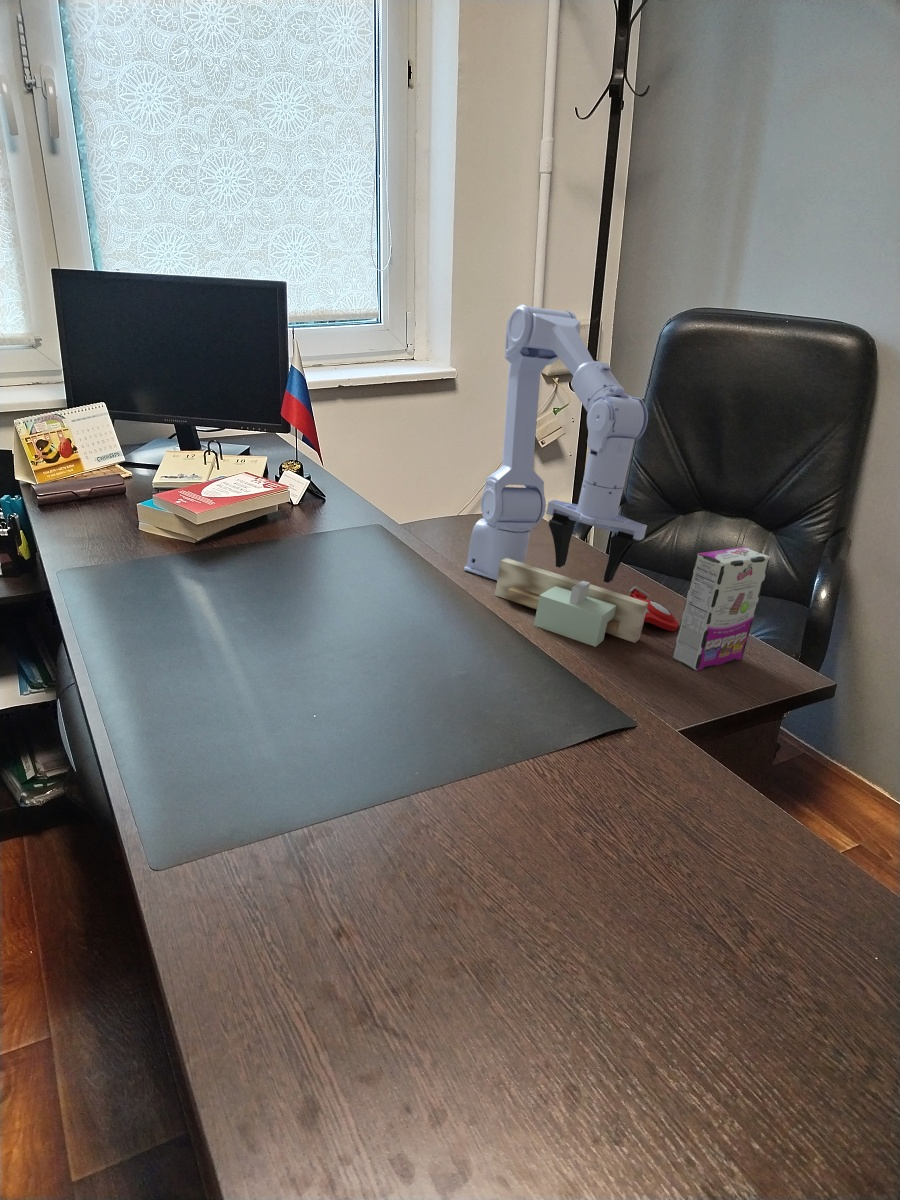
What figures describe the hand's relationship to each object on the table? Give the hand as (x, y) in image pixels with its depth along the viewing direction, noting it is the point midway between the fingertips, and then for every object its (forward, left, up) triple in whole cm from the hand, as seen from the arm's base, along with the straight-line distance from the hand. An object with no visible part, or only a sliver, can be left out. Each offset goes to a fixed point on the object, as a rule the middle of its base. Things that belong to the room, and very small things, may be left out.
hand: (583, 573), depth 123 cm
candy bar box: (+19, +6, -9) cm, 22 cm away
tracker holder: (+7, +15, -10) cm, 19 cm away
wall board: (-3, +4, -9) cm, 10 cm away
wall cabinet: (0, 0, -9) cm, 9 cm away
